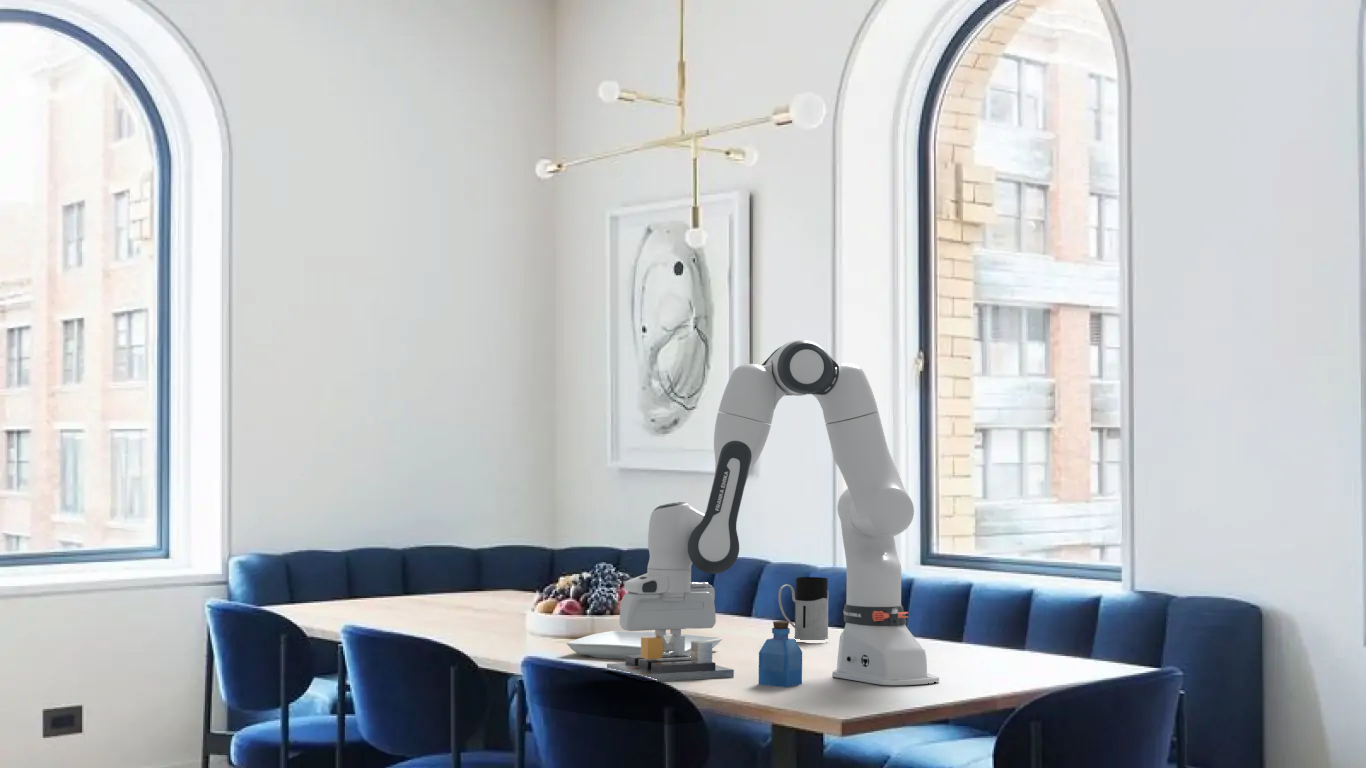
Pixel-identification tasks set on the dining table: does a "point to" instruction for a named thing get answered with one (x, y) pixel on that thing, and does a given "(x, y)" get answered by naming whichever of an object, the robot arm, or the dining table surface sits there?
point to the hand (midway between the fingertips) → (667, 652)
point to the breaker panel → (675, 675)
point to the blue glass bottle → (780, 659)
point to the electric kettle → (809, 608)
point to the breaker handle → (651, 647)
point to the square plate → (625, 643)
